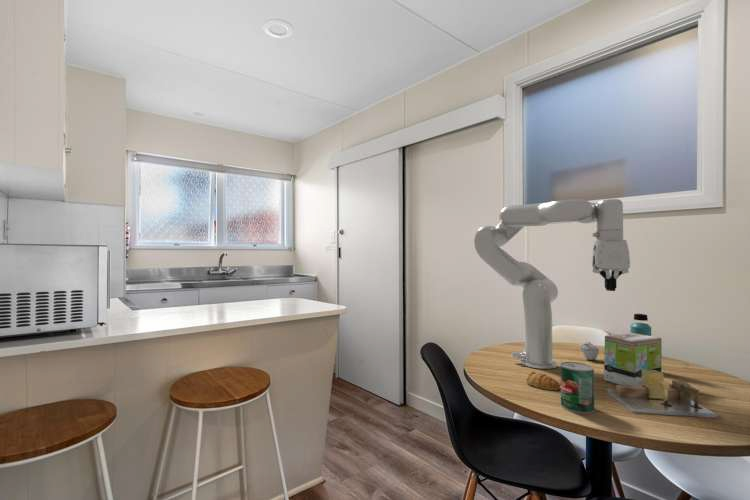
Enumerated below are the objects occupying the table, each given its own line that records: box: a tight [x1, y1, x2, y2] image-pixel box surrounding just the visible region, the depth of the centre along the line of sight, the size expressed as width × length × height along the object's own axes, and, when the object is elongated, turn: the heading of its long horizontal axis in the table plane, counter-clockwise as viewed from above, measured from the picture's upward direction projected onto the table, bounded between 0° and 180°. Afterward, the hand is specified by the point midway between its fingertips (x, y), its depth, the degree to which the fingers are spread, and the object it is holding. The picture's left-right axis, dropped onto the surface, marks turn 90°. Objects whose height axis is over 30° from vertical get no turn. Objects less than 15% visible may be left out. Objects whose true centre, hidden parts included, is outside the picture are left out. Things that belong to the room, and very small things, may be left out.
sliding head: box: [642, 370, 670, 404], centre depth 101 cm, size 4×8×7 cm, turn 171°
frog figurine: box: [579, 341, 600, 361], centre depth 146 cm, size 6×7×7 cm
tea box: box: [603, 332, 663, 387], centre depth 120 cm, size 15×10×15 cm, turn 117°
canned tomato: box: [559, 361, 595, 415], centre depth 98 cm, size 8×8×11 cm
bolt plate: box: [607, 389, 718, 419], centre depth 100 cm, size 19×14×1 cm
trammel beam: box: [615, 379, 700, 407], centre depth 101 cm, size 17×8×4 cm, turn 81°
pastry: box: [525, 370, 561, 391], centre depth 115 cm, size 9×7×4 cm
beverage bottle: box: [630, 313, 652, 336], centre depth 133 cm, size 6×7×20 cm
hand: (610, 290), depth 124 cm, fingers closed
